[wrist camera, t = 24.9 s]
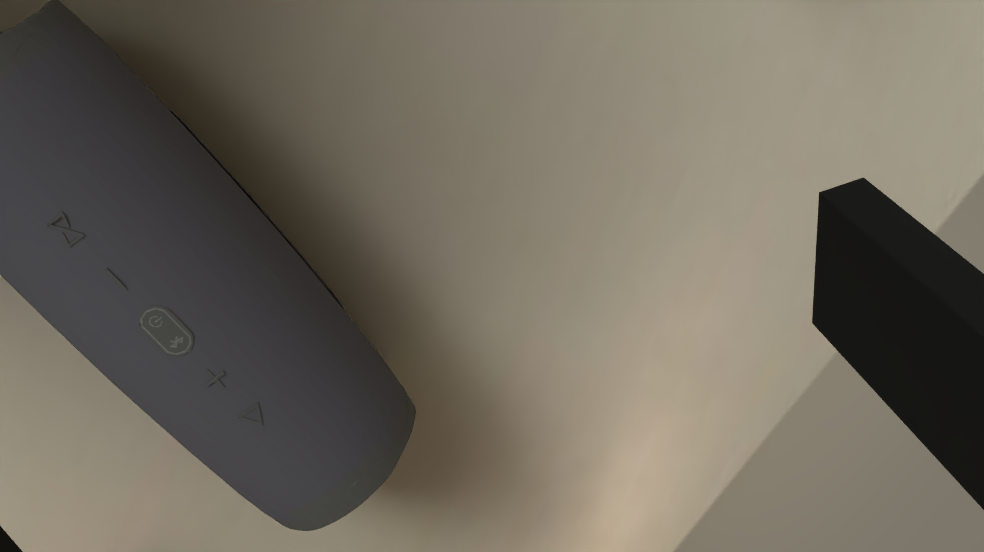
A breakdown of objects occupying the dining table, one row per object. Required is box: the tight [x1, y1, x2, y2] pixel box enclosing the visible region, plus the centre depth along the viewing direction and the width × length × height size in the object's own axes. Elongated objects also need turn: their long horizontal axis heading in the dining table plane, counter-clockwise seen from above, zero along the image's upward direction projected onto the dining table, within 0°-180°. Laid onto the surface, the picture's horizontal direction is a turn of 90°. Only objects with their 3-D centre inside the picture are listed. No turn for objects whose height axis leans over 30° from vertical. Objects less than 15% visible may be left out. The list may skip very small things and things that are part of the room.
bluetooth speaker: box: [0, 0, 416, 531], centre depth 39 cm, size 23×9×10 cm, turn 34°
